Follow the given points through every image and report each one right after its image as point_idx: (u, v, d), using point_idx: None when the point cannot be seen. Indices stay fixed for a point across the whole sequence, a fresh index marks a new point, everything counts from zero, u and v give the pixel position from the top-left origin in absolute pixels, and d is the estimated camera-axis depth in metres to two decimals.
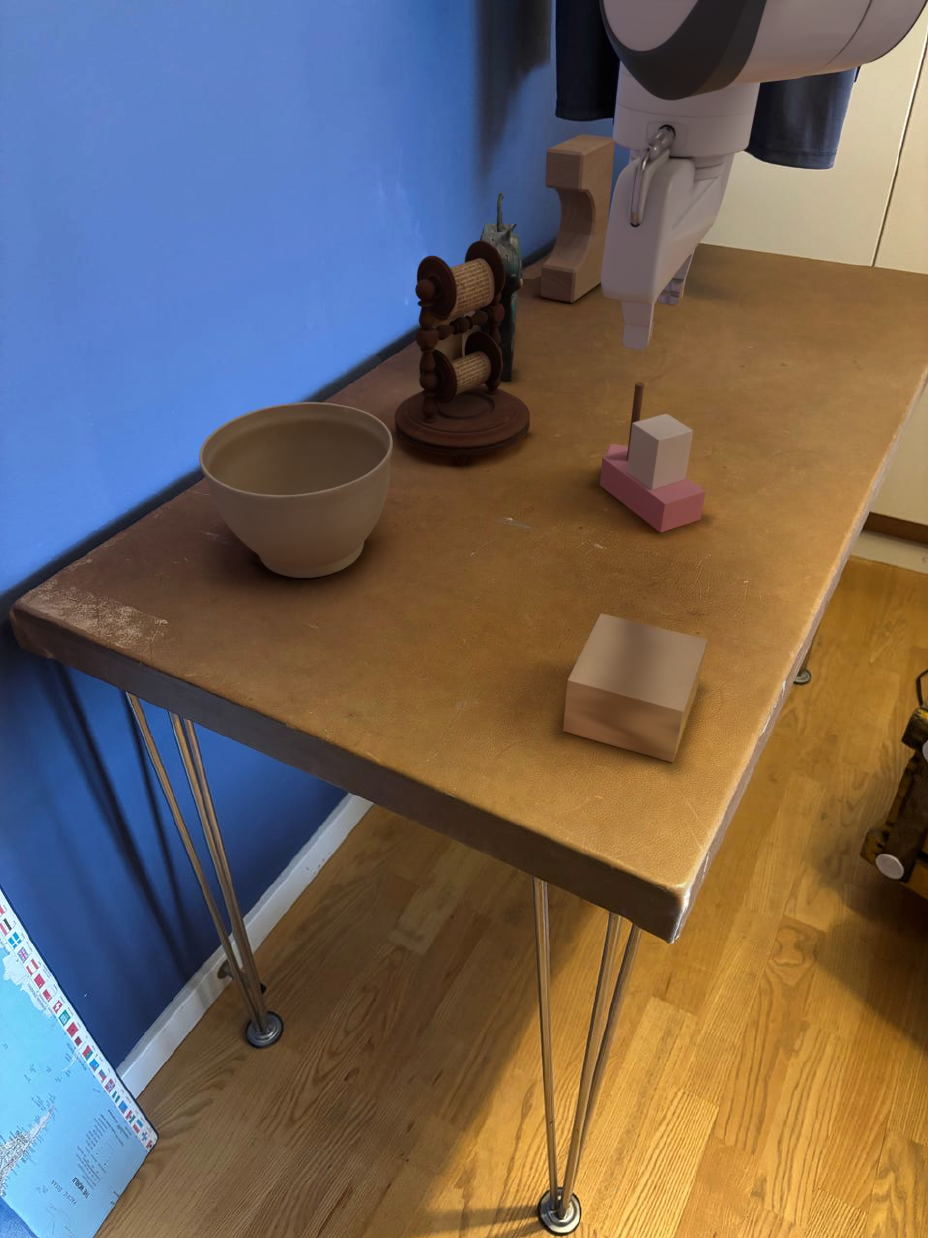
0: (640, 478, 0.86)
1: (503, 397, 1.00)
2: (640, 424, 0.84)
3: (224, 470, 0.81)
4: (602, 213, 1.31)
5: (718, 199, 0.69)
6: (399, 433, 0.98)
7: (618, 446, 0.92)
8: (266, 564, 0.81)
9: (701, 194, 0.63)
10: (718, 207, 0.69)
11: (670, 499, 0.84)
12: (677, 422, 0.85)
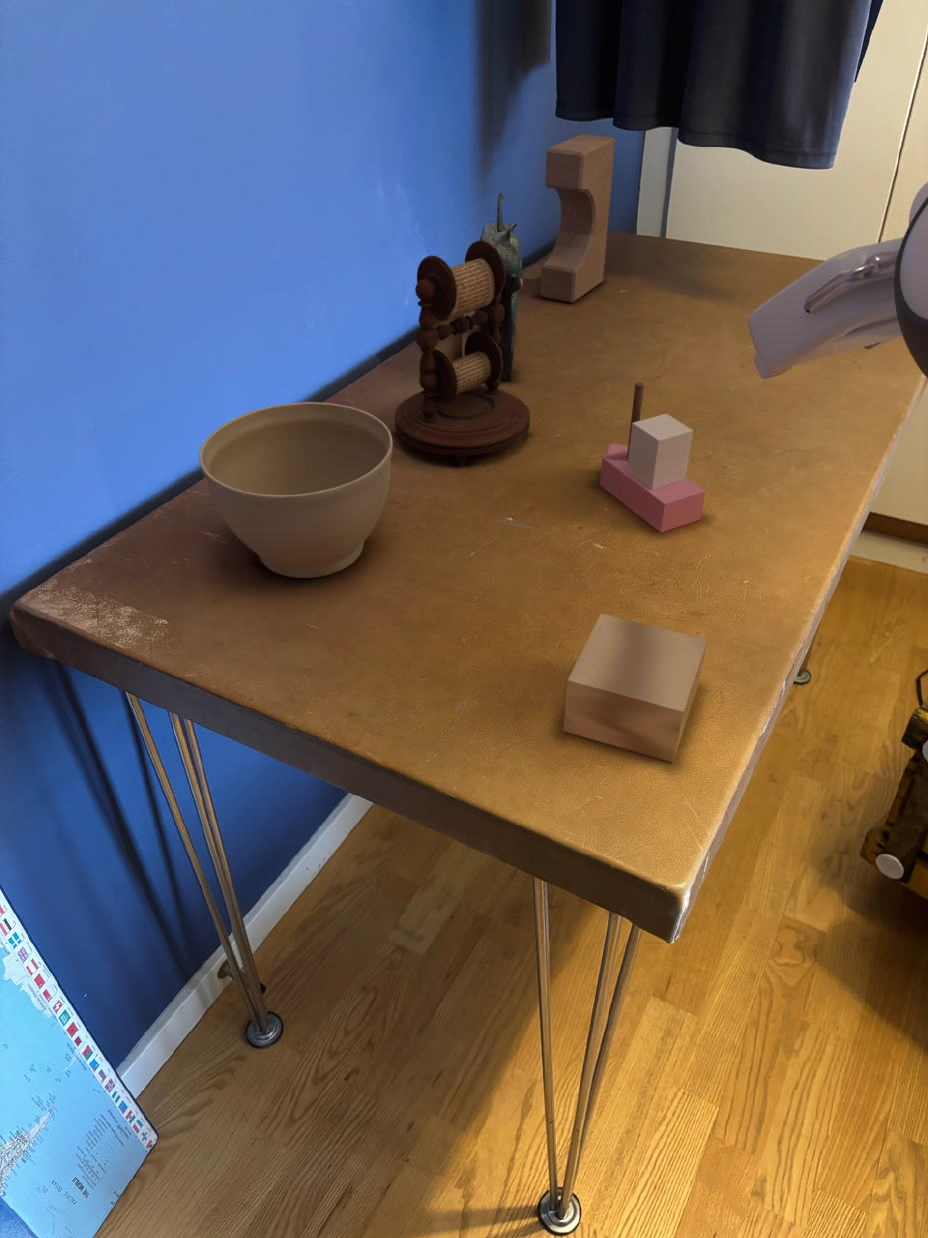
0: (640, 478, 0.86)
1: (503, 397, 1.00)
2: (640, 424, 0.84)
3: (224, 470, 0.81)
4: (602, 213, 1.31)
5: None
6: (399, 433, 0.98)
7: (618, 446, 0.92)
8: (266, 564, 0.81)
9: None
10: None
11: (670, 499, 0.84)
12: (677, 422, 0.85)
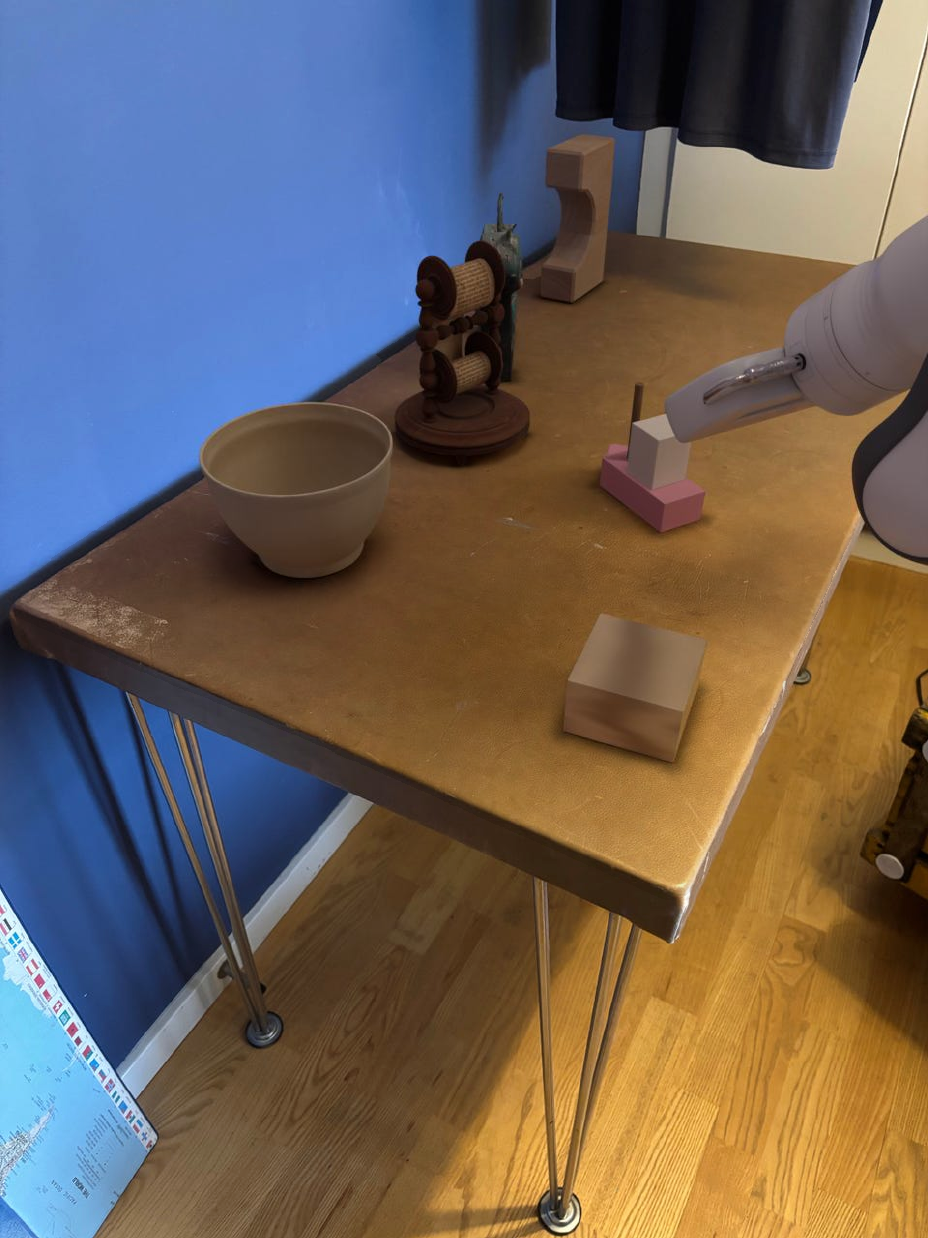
0: (640, 478, 0.86)
1: (503, 397, 1.00)
2: (640, 424, 0.84)
3: (224, 470, 0.81)
4: (602, 213, 1.31)
5: None
6: (399, 433, 0.98)
7: (618, 446, 0.92)
8: (266, 564, 0.81)
9: None
10: None
11: (670, 499, 0.84)
12: None
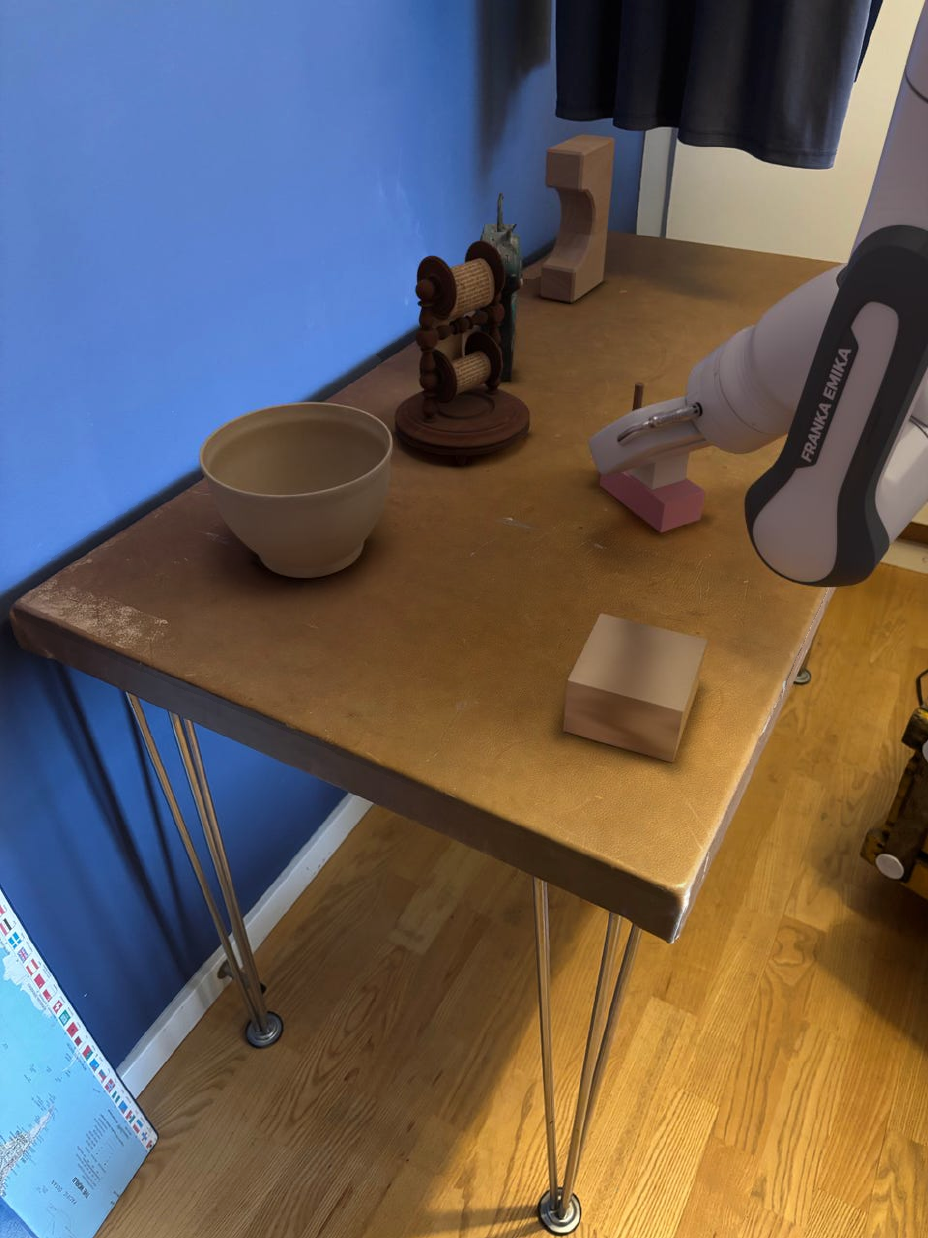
0: (640, 478, 0.86)
1: (503, 397, 1.00)
2: None
3: (224, 470, 0.81)
4: (602, 213, 1.31)
5: None
6: (399, 433, 0.98)
7: None
8: (266, 564, 0.81)
9: None
10: None
11: (670, 499, 0.84)
12: None
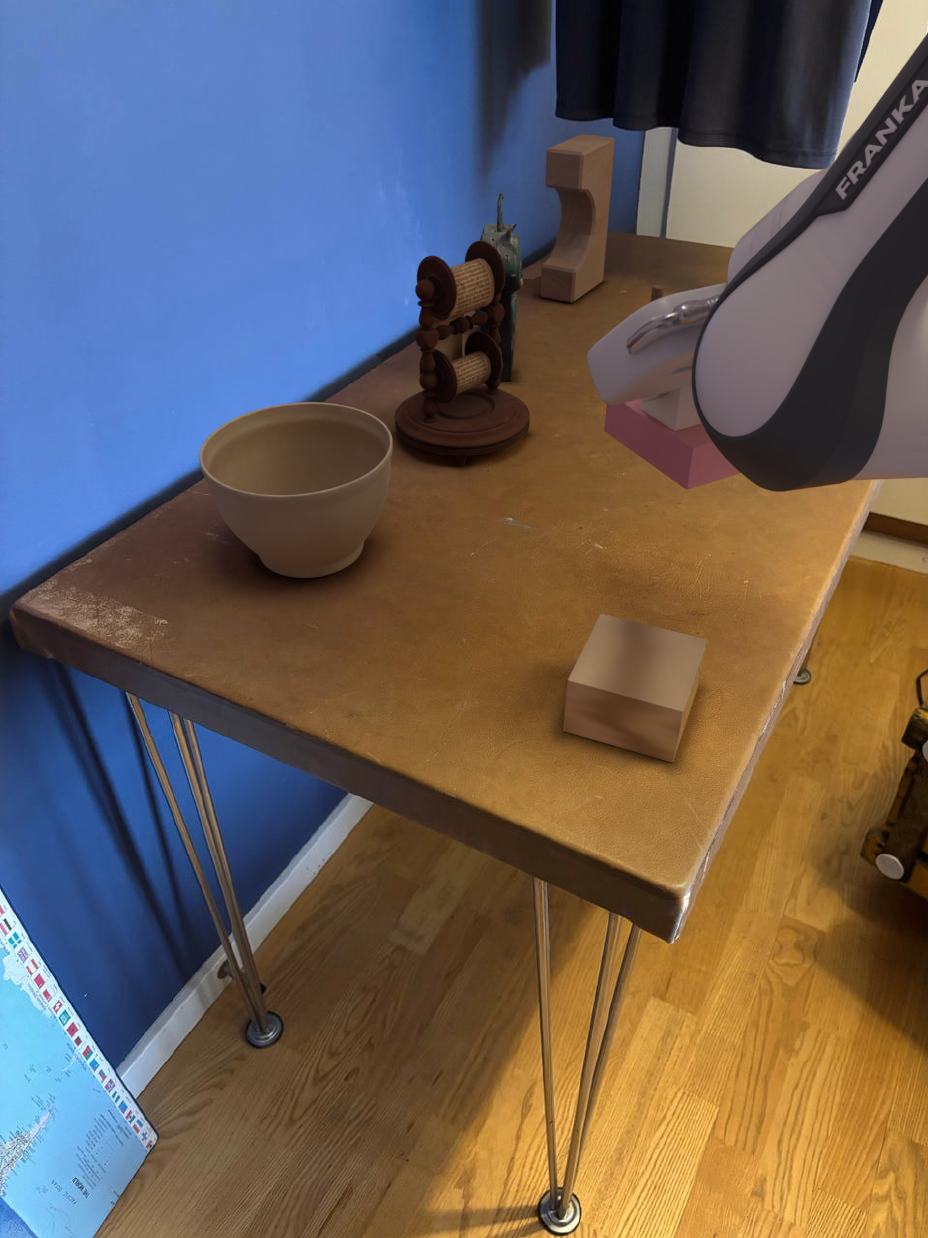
0: (659, 416, 0.63)
1: (503, 397, 1.00)
2: None
3: (224, 470, 0.81)
4: (602, 213, 1.31)
5: None
6: (399, 433, 0.98)
7: None
8: (266, 564, 0.81)
9: None
10: None
11: (700, 443, 0.61)
12: None
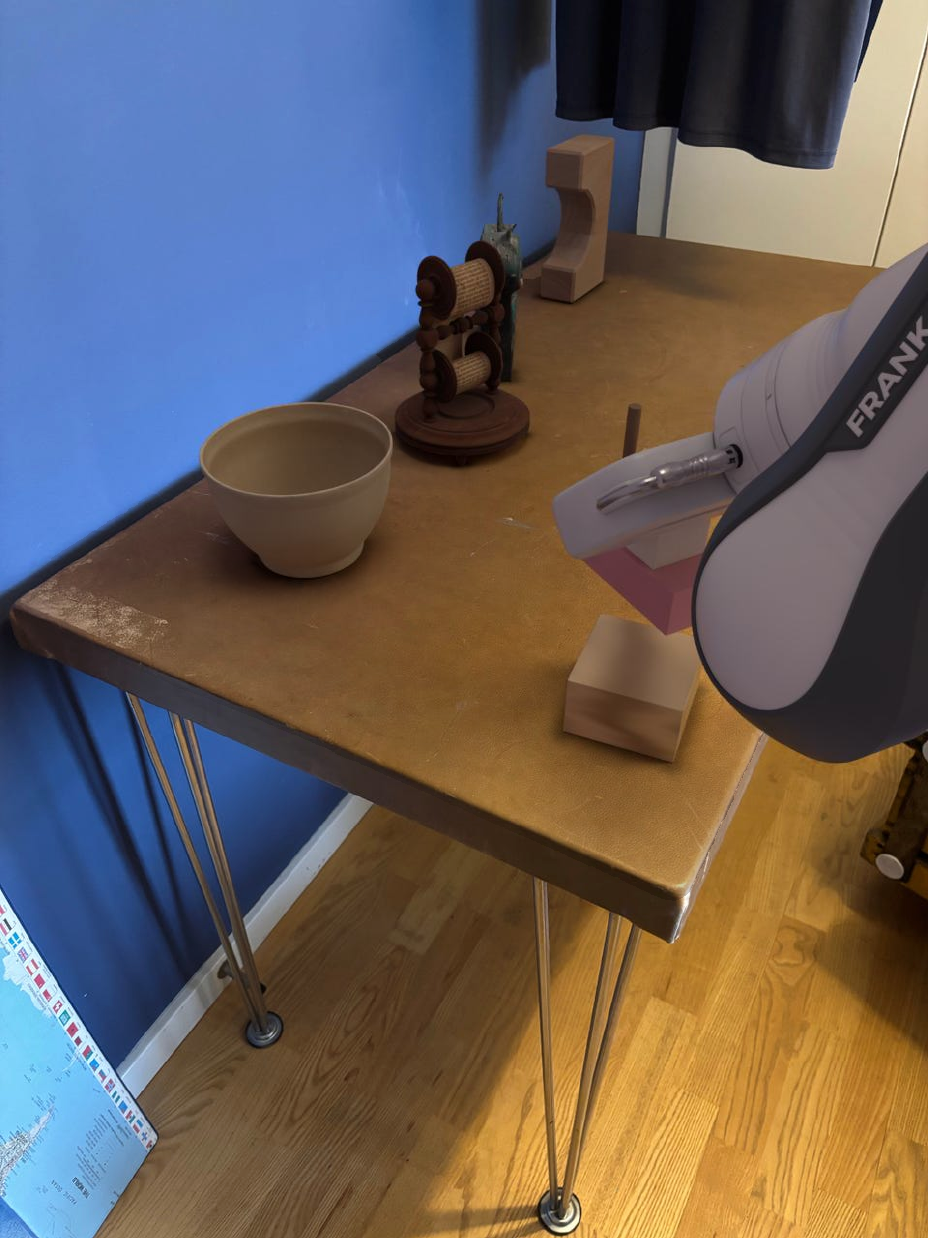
0: (635, 550, 0.56)
1: (503, 397, 1.00)
2: None
3: (224, 470, 0.81)
4: (602, 213, 1.31)
5: None
6: (399, 433, 0.98)
7: None
8: (266, 564, 0.81)
9: None
10: None
11: (681, 587, 0.54)
12: None
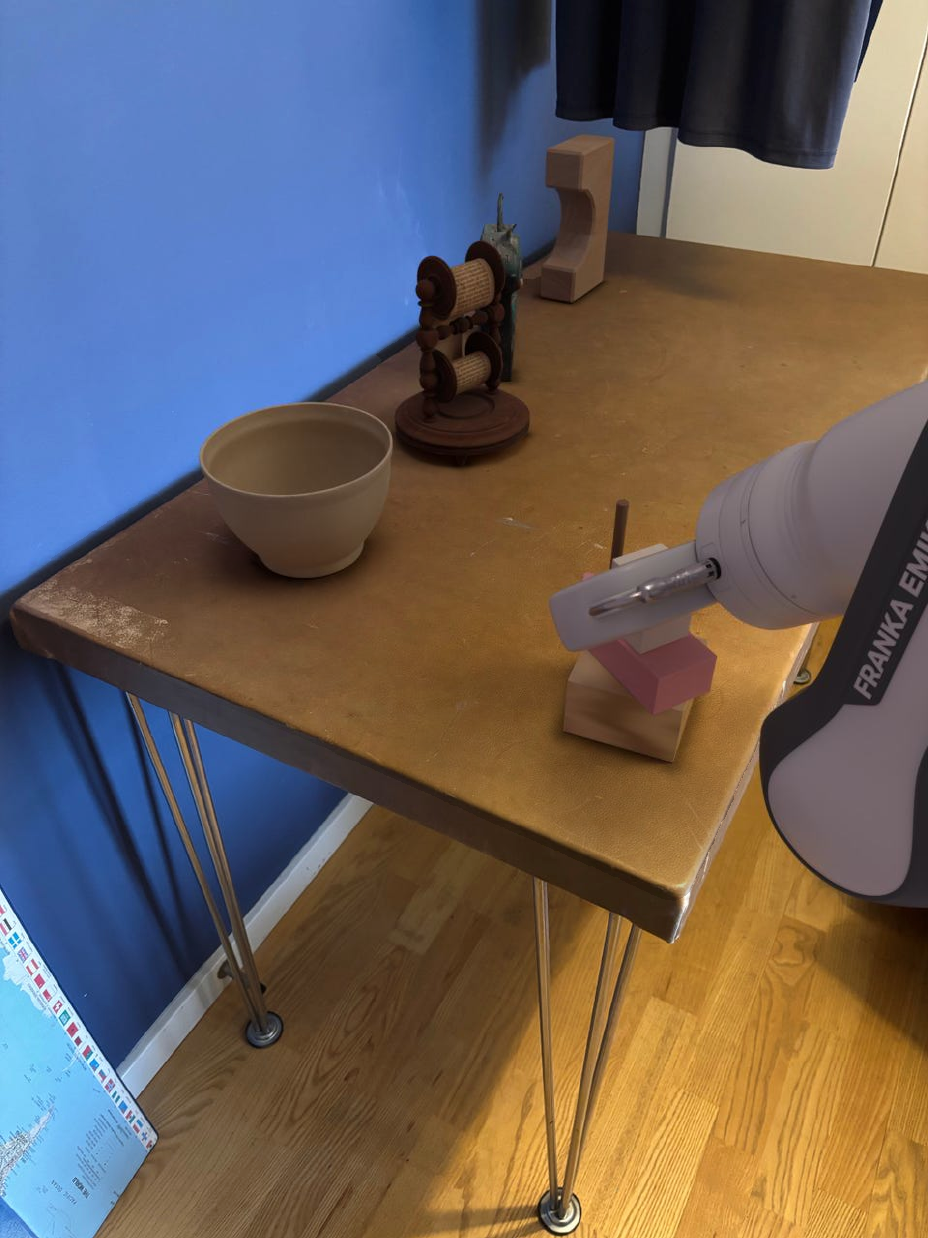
0: None
1: (503, 397, 1.00)
2: (623, 563, 0.59)
3: (224, 470, 0.81)
4: (602, 213, 1.31)
5: None
6: (399, 433, 0.98)
7: None
8: (266, 564, 0.81)
9: None
10: None
11: (666, 672, 0.58)
12: None
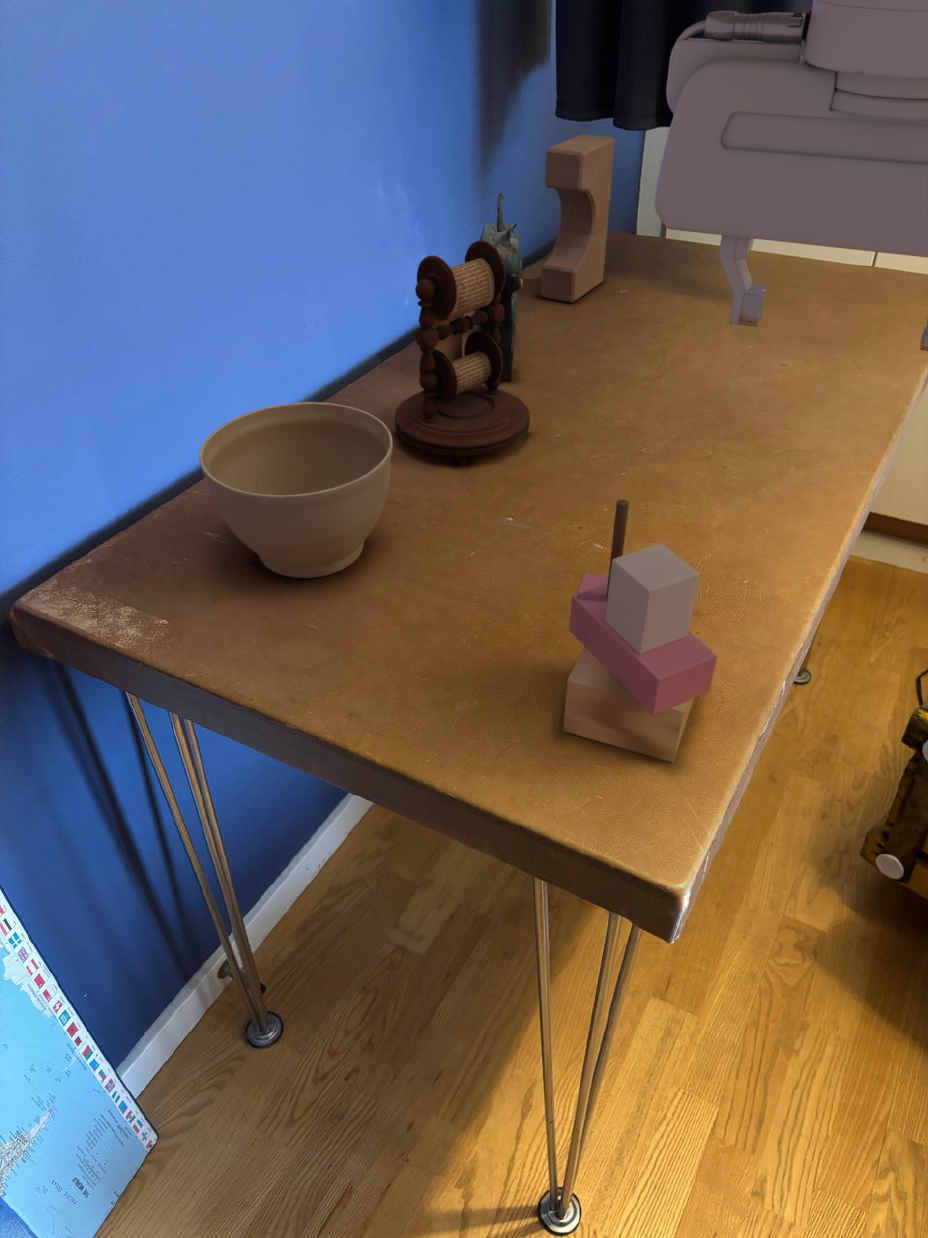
0: (624, 635, 0.60)
1: (503, 397, 1.00)
2: (623, 563, 0.59)
3: (224, 470, 0.81)
4: (602, 213, 1.31)
5: None
6: (399, 433, 0.98)
7: (595, 577, 0.66)
8: (266, 564, 0.81)
9: None
10: None
11: (666, 672, 0.58)
12: (677, 559, 0.59)
